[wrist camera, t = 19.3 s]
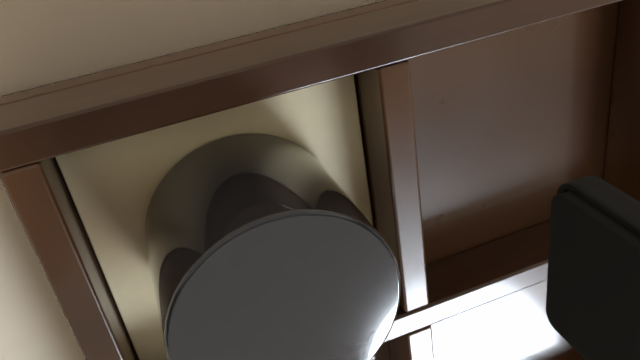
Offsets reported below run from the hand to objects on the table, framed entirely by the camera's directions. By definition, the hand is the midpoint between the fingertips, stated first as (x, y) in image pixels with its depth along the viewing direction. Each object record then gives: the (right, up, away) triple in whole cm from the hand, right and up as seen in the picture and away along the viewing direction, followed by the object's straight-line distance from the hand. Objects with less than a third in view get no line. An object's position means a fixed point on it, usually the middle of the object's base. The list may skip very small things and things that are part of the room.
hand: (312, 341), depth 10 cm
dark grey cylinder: (-2, +2, +4) cm, 5 cm away
